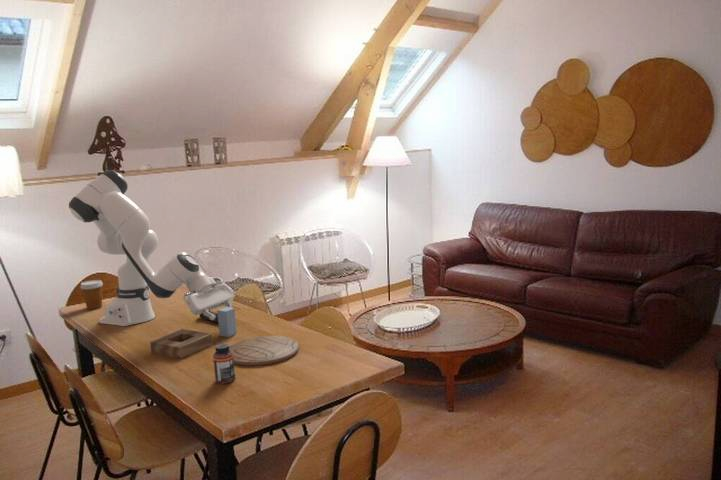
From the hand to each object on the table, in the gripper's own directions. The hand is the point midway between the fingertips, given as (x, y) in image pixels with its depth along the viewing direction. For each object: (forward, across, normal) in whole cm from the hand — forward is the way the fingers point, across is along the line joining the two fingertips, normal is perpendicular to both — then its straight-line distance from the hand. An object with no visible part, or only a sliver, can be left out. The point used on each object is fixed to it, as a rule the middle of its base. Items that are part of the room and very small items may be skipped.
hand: (223, 315), depth 223 cm
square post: (+6, +1, +5) cm, 8 cm away
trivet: (+24, -9, -12) cm, 28 cm away
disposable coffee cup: (-54, +4, +65) cm, 85 cm away
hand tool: (-6, +10, +17) cm, 21 cm away
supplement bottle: (+27, -32, -16) cm, 45 cm away
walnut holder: (+3, -18, +8) cm, 20 cm away
